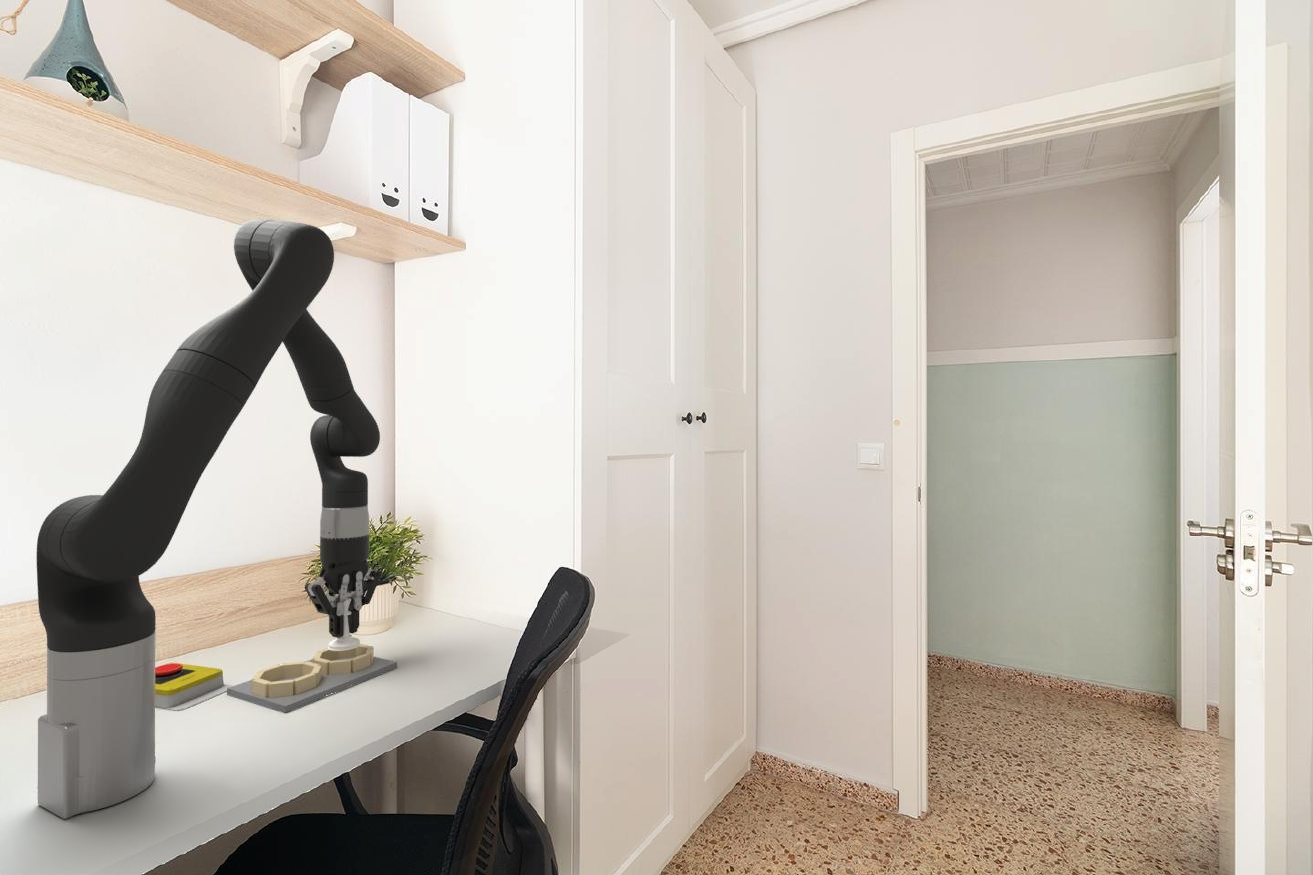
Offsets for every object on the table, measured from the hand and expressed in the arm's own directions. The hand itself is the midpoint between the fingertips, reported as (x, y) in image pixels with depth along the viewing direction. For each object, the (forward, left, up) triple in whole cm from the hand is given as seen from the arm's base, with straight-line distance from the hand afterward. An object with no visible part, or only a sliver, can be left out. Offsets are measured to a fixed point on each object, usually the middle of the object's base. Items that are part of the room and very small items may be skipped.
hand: (344, 633), depth 109 cm
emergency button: (-19, +15, -7) cm, 25 cm away
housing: (-5, 0, -6) cm, 8 cm away
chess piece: (0, 0, -2) cm, 2 cm away
